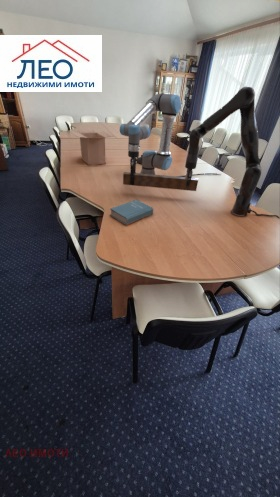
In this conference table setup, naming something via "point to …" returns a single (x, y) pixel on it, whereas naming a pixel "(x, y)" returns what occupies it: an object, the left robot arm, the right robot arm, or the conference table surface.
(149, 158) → the left robot arm
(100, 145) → the box
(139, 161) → the laser sight
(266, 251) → the conference table surface
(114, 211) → the book
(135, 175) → the beam
